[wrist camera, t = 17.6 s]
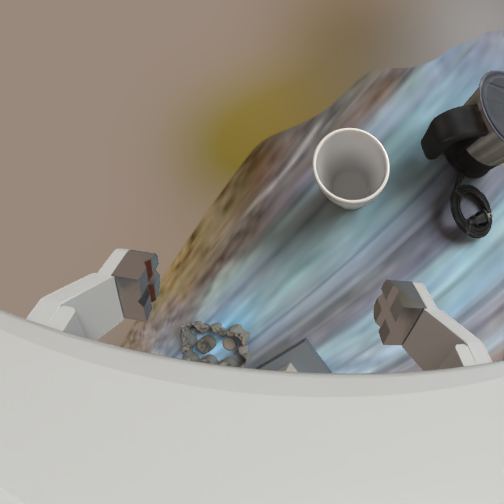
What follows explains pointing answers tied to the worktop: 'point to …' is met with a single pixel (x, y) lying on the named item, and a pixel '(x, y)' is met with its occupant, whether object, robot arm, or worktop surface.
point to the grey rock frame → (214, 343)
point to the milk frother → (471, 146)
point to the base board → (297, 360)
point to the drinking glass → (351, 167)
